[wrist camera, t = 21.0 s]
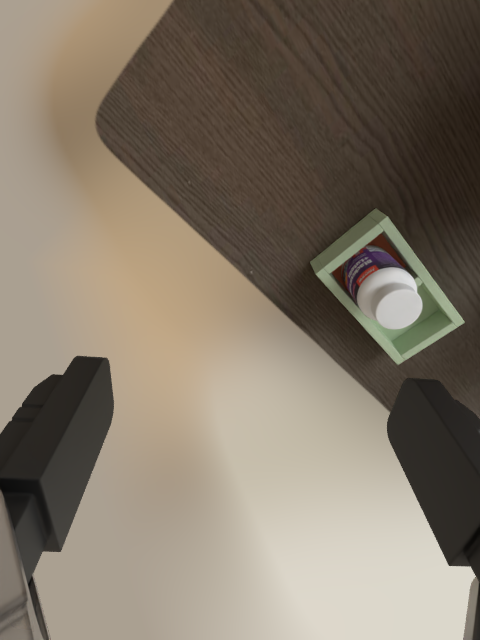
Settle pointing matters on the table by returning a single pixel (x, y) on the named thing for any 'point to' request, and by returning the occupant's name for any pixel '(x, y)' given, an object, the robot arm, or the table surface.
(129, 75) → the table surface
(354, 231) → the storage box
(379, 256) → the pill bottle
